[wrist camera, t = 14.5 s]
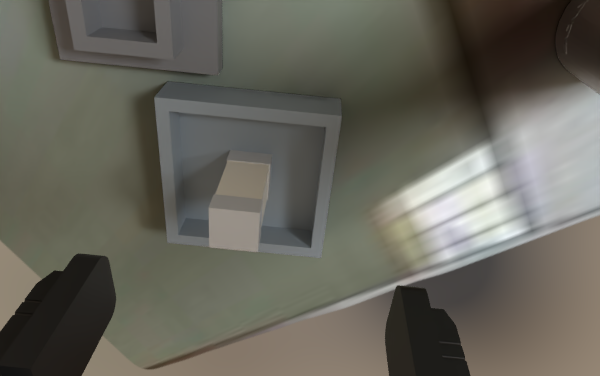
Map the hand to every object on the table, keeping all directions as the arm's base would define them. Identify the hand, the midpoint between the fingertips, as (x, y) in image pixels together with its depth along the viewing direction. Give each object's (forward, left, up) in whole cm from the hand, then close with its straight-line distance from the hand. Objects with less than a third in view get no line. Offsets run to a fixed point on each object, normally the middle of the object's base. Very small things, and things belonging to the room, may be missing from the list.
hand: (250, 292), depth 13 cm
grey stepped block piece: (+14, -1, -32) cm, 35 cm away
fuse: (+4, +15, -31) cm, 34 cm away
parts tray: (+4, +15, -32) cm, 35 cm away
